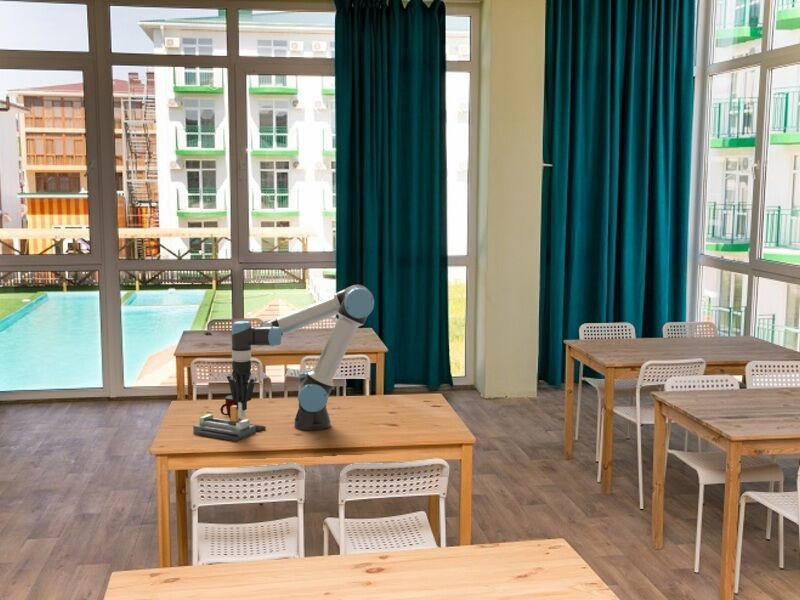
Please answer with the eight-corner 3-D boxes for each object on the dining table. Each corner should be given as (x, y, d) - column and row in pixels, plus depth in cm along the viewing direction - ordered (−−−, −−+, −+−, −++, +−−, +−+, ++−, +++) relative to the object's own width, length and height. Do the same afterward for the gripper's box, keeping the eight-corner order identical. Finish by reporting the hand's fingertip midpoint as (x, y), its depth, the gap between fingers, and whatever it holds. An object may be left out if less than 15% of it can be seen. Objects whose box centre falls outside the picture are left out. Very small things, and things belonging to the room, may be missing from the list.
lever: (241, 426, 355) (241, 405, 354) (236, 428, 352) (236, 407, 351) (233, 424, 357) (232, 404, 356) (228, 426, 354) (228, 406, 353)
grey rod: (262, 431, 361) (262, 426, 361) (260, 432, 359) (260, 427, 359) (215, 423, 371) (215, 419, 371) (212, 424, 369) (212, 420, 369)
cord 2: (266, 429, 363) (266, 425, 363) (264, 430, 362) (264, 426, 362) (216, 423, 372) (216, 419, 372) (214, 423, 371) (214, 420, 371)
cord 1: (239, 441, 346) (239, 436, 346) (236, 442, 345) (236, 437, 344) (199, 434, 355) (199, 429, 355) (196, 435, 354) (196, 430, 353)
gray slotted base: (255, 432, 358) (255, 418, 357) (238, 440, 347) (238, 425, 347) (211, 426, 367) (211, 412, 367) (193, 433, 357) (193, 418, 356)
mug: (226, 424, 371) (226, 401, 370) (217, 420, 377) (216, 397, 376) (248, 420, 378) (248, 397, 376) (238, 416, 384) (238, 394, 382)
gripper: (260, 360, 350) (260, 417, 353) (233, 356, 356) (233, 413, 359) (249, 363, 344) (250, 421, 347) (222, 360, 349) (222, 417, 352)
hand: (241, 417), depth 353 cm, fingers closed
